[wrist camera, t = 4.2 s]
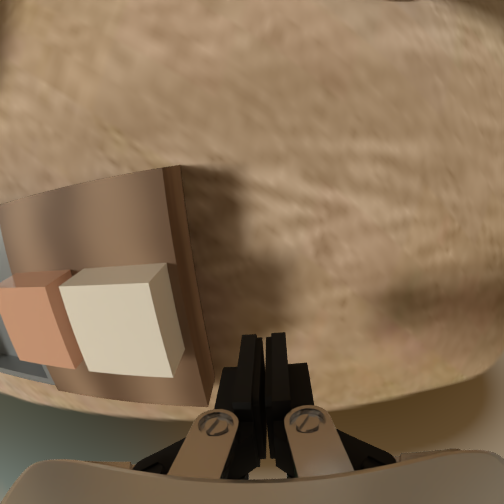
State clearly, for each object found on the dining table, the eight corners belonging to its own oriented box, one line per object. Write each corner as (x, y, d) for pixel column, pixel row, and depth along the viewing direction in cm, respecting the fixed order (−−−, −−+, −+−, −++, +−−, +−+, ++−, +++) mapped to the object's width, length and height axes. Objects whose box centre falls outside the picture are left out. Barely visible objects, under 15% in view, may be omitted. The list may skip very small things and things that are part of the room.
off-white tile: (166, 262, 15) (148, 282, 13) (185, 349, 16) (173, 377, 14) (83, 268, 15) (58, 286, 13) (107, 346, 17) (89, 371, 14)
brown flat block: (180, 165, 16) (162, 167, 14) (215, 377, 20) (207, 406, 18) (24, 197, 17) (-4, 205, 15) (75, 368, 22) (58, 390, 19)
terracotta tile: (70, 269, 15) (44, 286, 13) (94, 346, 17) (75, 369, 14) (15, 273, 16) (-9, 288, 13) (39, 341, 17) (19, 360, 15)
